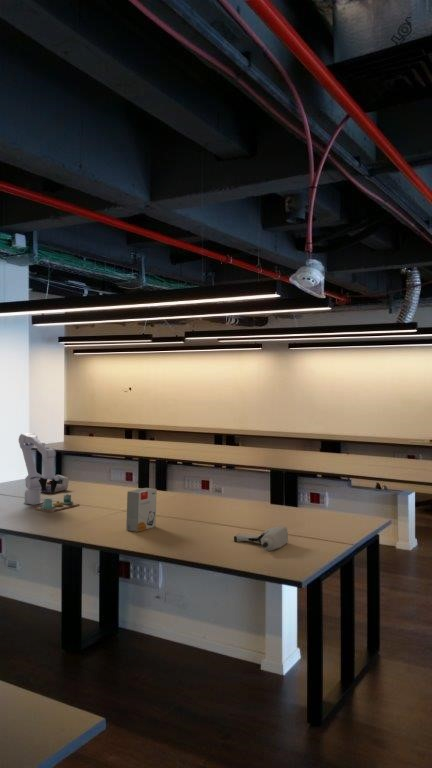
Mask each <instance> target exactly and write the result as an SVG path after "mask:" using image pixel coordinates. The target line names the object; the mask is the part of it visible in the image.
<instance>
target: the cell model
mask: <svg viewBox="0 0 432 768" xmlns="http://www.w3.org/2000/svg"><path fill="white" fill-rule="evenodd" d="M55 476H56V477H58V480H59V482H58V483H57V485H56V488H55V492H51V485H50V482H49V481H47V483H46V491H42V489H41V493H43V494H54V493H57V492H63V491H67V490H68V488H69V482H70V481H69V477H68V476H64V475H61V474H56V475H55Z"/></svg>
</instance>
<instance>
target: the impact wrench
mask: <svg viewBox="0 0 432 768" xmlns="http://www.w3.org/2000/svg"><path fill="white" fill-rule="evenodd" d="M288 533H289V532H288V528H287V527H286V526H276V527H275V526H274V527H269V528H267V529H266V530H265V531H263V532H261V533H260V534H253V535H252V534H245V533H237V534H236V535H234V536H233V542H237V543H239V542H255V543H256V542H257V543H259V544H261V547H262V548H263V549H264V550H266V551H269V552H271V551H274V550H277V549H280V548H282V547H284V546H285V545H287V544H288V542H289V536H288Z"/></svg>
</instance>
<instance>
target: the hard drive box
mask: <svg viewBox="0 0 432 768" xmlns="http://www.w3.org/2000/svg"><path fill="white" fill-rule="evenodd" d="M156 522H157V488H149V487H143V488H138V489H135V490H134V489H133V490H128V491H127V494H126V525H125V526H126V529H125V530H126V531H130V532H135V533H139V532H143V531H146V530H149V529H152V528H155V527H156V524H157V523H156Z"/></svg>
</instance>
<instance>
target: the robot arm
mask: <svg viewBox="0 0 432 768" xmlns="http://www.w3.org/2000/svg"><path fill="white" fill-rule="evenodd" d="M18 443H19V444H18V445H19V448H20V449H21V451H22V456H23V459H24V462H25V467H26V471H27V475H26V476H25V480H24V481H25V487H26V489H25V492H24V502H23V504H27V505H33V506H34V505H40V504H44V501H42V499H41V498H42V497H41V493H42V491H46V483H47V482H50V485H51V492H55V488H56V485H57V483H58V482H59V480H58V477H56V475H54V472H55V471H54V465H55V460H54V459H55V458H56V455H57V452H56V449H55V448H50V447H49V446H48V445H47V444H46V442H41V441H40V439H38V435H37V433H35V432H34V433H33V432H32V433H20V435H19V436H18ZM34 447H36V450H37V451H38V452H39V453H40V454H41V456H42V461H43V474H40V473H38V472H37V468H36V464H35V461H34V457H33V453H32V449H34ZM48 480H49V481H48ZM41 489H42V491H41ZM55 493H56V492H55Z"/></svg>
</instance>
